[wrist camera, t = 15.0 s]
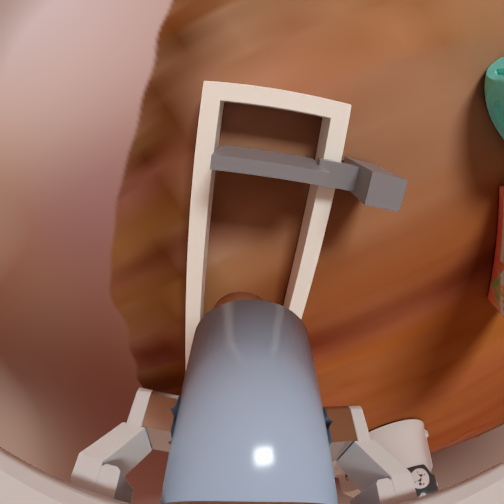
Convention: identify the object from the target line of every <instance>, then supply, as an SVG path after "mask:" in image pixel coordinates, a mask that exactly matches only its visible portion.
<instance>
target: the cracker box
mask: <svg viewBox="0 0 504 504" xmlns="http://www.w3.org/2000/svg"><path fill="white" fill-rule="evenodd" d="M487 299H488V300H489V301H490V302H491V303H492V304H493V306H494V307H495V308H496V309H497V310H498V311H499V312H500V313H501V314H502V315H503V316H504V185H503V186H500V187H499V213H498V228H497V240H496V248H495V257H494V264H493V271H492V277H491V283H490V288H489V293H488V298H487Z"/></svg>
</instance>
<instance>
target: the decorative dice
mask: <svg viewBox="0 0 504 504" xmlns="http://www.w3.org/2000/svg"><path fill="white" fill-rule="evenodd" d="M484 92H485V100H486V105H487V109H488V112H489V115H490V118H491V120H492V122H493V124H494V126H495V128H496V129H497V131H498V132H499V134H500V135H501V137H502V138H503V139H504V57H502V58H500V59H498V60H497V61H495V62H494V63H493V64H491V65H490V66H489V68H488V69H487V72H486V76H485V84H484Z"/></svg>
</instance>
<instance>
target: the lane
mask: <svg viewBox="0 0 504 504" xmlns="http://www.w3.org/2000/svg"><path fill="white" fill-rule="evenodd" d="M224 102H229V103H238V104H247V105H254V106H261V107H268V108H275V109H281V110H287V111H292V112H298V113H303V114H308V115H313V116H318V117H322V123H321V129H320V134H319V140H318V145H317V151H316V156H315V161H316V162H317V159H318V158H323V159H328V160H333V161H337V162H341V159H342V154H343V149H344V144H345V139H346V133H347V128H348V122H349V117H350V111H351V105H350V104H346V103H342V102H338V101H334V100H330V99H325V98H321V97H316V96H312V95H307V94H302V93H297V92H291V91H286V90H280V89H274V88H267V87H260V86H253V85H245V84H236V83H226V82H214V81H204V84H203V91H202V98H201V106H200V113H199V121H198V130H197V139H196V148H195V158H194V168H193V179H192V191H191V204H190V218H189V235H188V254H187V279H186V326H185V355H186V369H187V364H188V360H189V355H190V351H191V346H192V342H193V338H194V334H195V330H196V327H197V325H198V324H199V322H200V321H201V319H202V318H203V310H204V295H205V280H206V267H207V254H208V242H209V231H210V220H211V210H212V200H213V190H214V181H215V172H216V170H210V163H211V155H212V154H213V153H214V152H215V151H216V150H217V149H218V146H219V138H220V130H221V123H222V115H223V108H224ZM334 192H335V188H332V187H325V186H320V185H314V184H310V187H309V192H308V197H307V202H306V207H305V211H304V216H303V221H302V226H301V230H300V235H299V239H298V244H297V248H296V253H295V257H294V262H293V266H292V270H291V275H290V279H289V283H288V287H287V291H286V296H285V300H284V304H283V306H284V307H286V308H287V309H289V310H291V311H292V312H293V313H295V314H296V315H297V316H298V317H299V318H300V319H301V318H302V314H303V311H304V308H305V304H306V301H307V297H308V294H309V290H310V287H311V283H312V280H313V276H314V272H315V269H316V265H317V261H318V257H319V254H320V250H321V246H322V242H323V238H324V234H325V230H326V226H327V222H328V218H329V213H330V209H331V205H332V200H333V196H334Z"/></svg>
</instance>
